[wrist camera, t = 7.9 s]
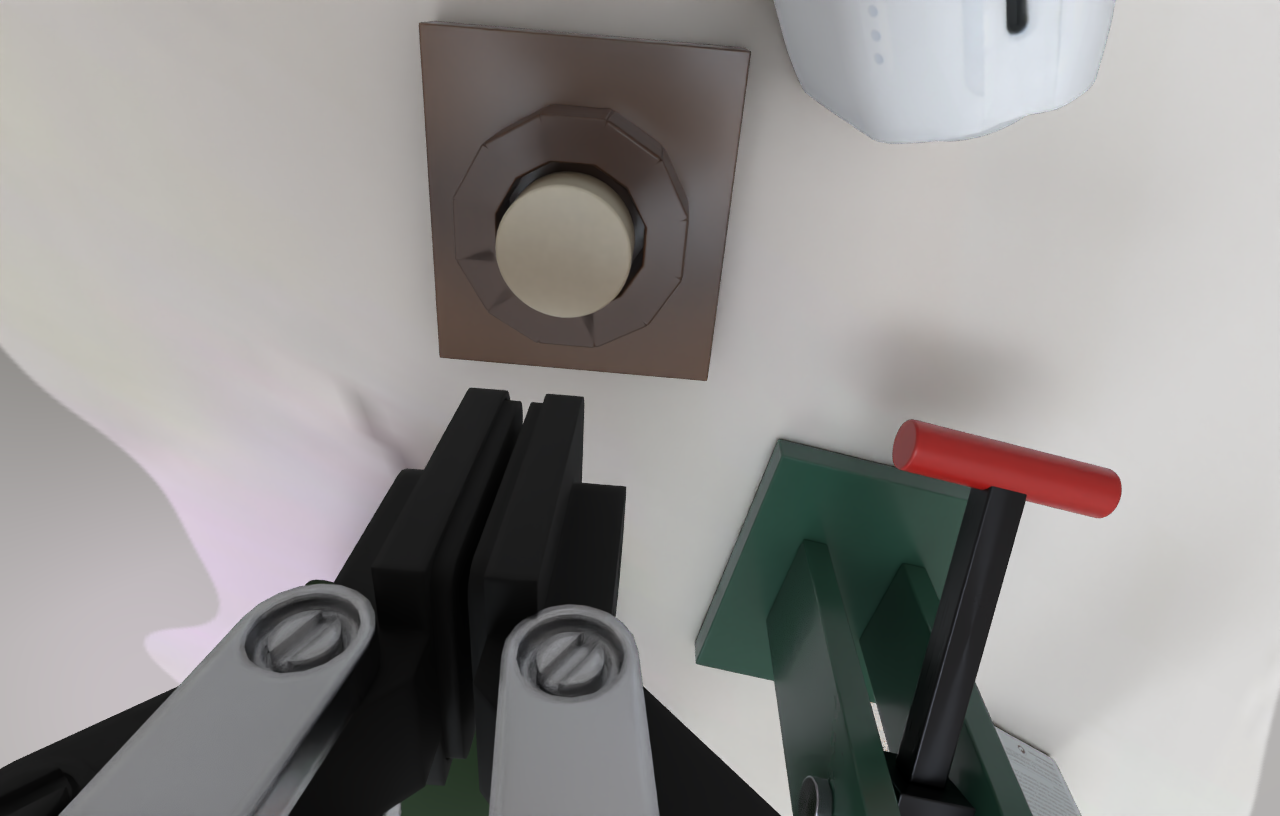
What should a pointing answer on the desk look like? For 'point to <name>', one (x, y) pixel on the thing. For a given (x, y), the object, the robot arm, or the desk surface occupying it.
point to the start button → (566, 244)
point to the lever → (974, 586)
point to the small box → (1039, 779)
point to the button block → (594, 145)
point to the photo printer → (943, 61)
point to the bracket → (848, 626)
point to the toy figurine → (447, 786)
